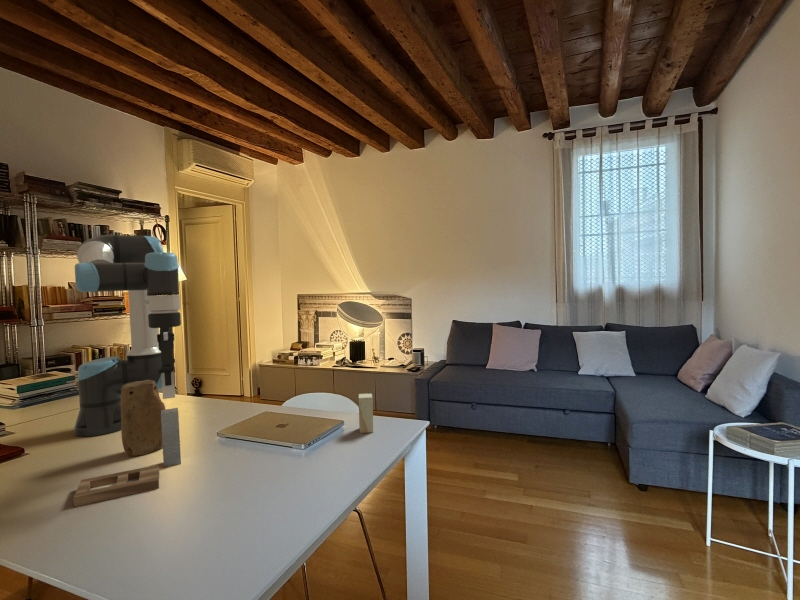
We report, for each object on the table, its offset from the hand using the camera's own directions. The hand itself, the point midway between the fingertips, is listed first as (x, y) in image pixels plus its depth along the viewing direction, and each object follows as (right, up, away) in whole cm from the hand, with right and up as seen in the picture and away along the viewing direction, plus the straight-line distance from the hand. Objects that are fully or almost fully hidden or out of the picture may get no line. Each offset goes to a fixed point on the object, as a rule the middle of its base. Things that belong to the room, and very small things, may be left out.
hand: (168, 392), depth 116 cm
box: (+50, -17, +22) cm, 57 cm away
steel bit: (0, -19, +1) cm, 19 cm away
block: (-12, -19, +10) cm, 25 cm away
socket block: (-5, -20, -13) cm, 24 cm away
